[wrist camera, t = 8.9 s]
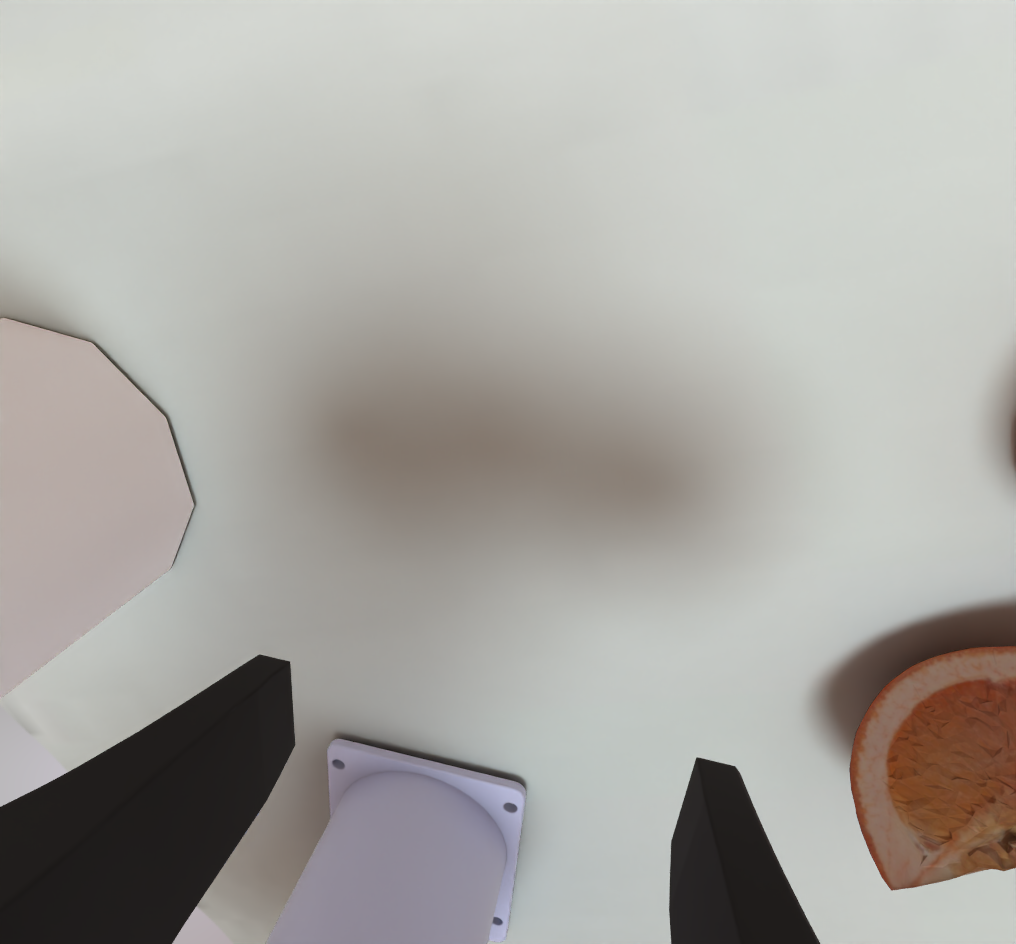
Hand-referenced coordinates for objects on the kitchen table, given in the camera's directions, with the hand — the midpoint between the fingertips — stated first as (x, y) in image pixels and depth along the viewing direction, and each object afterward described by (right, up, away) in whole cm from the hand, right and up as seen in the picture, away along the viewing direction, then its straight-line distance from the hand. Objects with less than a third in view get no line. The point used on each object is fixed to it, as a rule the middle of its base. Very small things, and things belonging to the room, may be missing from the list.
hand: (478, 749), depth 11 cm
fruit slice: (+15, -2, +8) cm, 17 cm away
